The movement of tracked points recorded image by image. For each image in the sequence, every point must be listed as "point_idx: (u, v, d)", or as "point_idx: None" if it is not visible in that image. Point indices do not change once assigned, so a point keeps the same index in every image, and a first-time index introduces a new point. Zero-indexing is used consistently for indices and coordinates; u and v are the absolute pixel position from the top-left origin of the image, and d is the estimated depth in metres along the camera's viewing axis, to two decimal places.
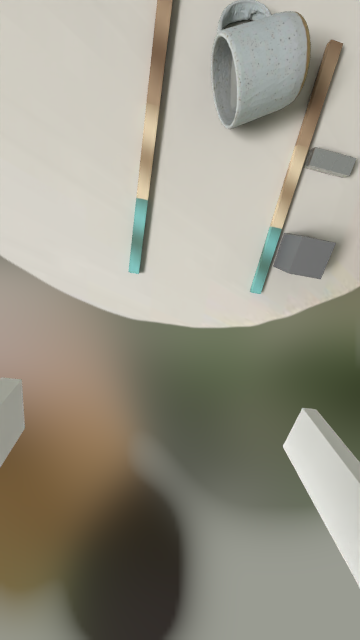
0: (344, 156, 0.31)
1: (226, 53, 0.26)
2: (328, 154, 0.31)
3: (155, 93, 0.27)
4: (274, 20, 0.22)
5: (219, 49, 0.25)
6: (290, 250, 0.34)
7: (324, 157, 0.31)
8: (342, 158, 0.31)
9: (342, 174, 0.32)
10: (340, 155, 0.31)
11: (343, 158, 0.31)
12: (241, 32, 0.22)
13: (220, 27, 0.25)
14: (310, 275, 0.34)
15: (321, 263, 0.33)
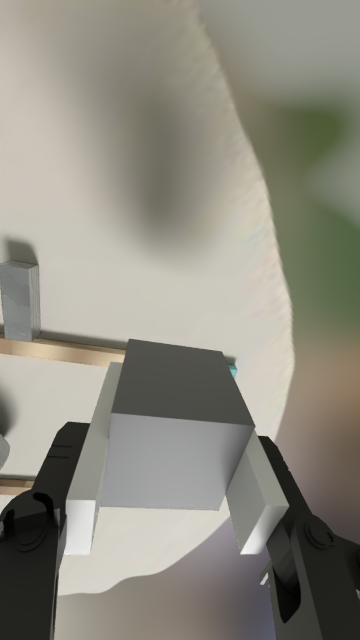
0: (2, 287, 0.17)
1: None
2: (7, 315, 0.18)
3: (13, 490, 0.28)
4: None
5: None
6: None
7: (14, 321, 0.19)
8: (6, 290, 0.18)
9: (30, 280, 0.18)
10: (3, 295, 0.18)
11: (5, 288, 0.18)
12: None
13: None
14: (234, 458, 0.09)
15: (192, 438, 0.08)
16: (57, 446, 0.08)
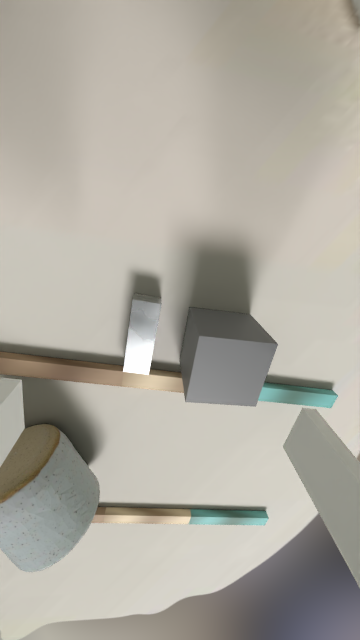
0: (131, 322, 0.17)
1: None
2: (130, 349, 0.18)
3: (94, 518, 0.27)
4: None
5: None
6: None
7: (135, 355, 0.18)
8: (134, 325, 0.17)
9: None
10: (130, 330, 0.17)
11: (134, 323, 0.17)
12: (8, 556, 0.18)
13: None
14: None
15: None
16: None
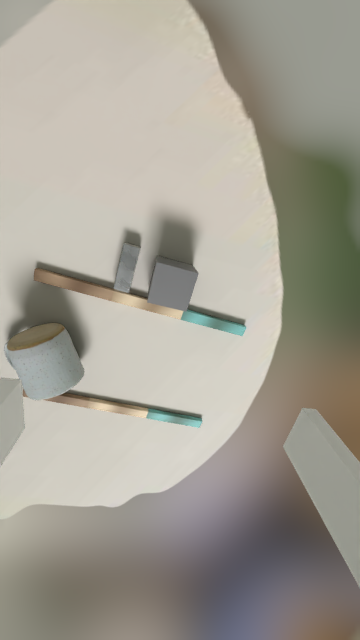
0: (121, 257, 0.30)
1: None
2: (119, 274, 0.31)
3: (81, 402, 0.39)
4: (15, 368, 0.29)
5: None
6: None
7: (122, 279, 0.31)
8: (123, 259, 0.30)
9: (138, 255, 0.30)
10: (120, 262, 0.30)
11: (123, 258, 0.30)
12: (26, 390, 0.30)
13: None
14: None
15: None
16: None
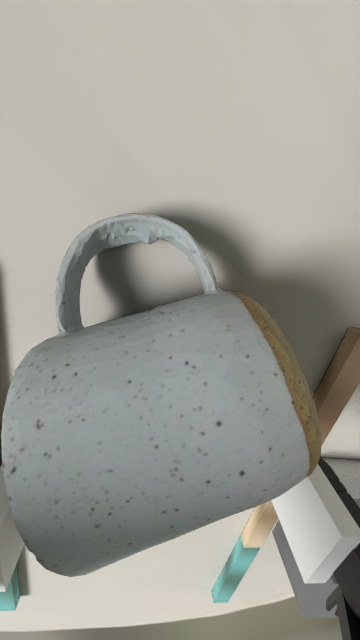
0: None
1: None
2: (346, 482, 0.16)
3: None
4: (187, 403, 0.06)
5: None
6: (295, 565, 0.18)
7: None
8: None
9: None
10: None
11: None
12: (54, 458, 0.06)
13: (58, 296, 0.08)
14: None
15: None
16: None
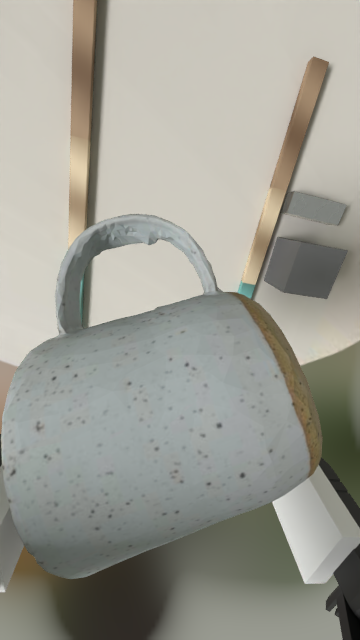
0: (331, 202, 0.25)
1: None
2: (311, 199, 0.24)
3: (81, 123, 0.21)
4: (187, 405, 0.06)
5: None
6: (279, 271, 0.26)
7: (305, 203, 0.24)
8: (328, 204, 0.25)
9: (329, 223, 0.26)
10: (326, 201, 0.24)
11: (330, 204, 0.25)
12: (54, 461, 0.06)
13: (58, 297, 0.08)
14: None
15: None
16: None
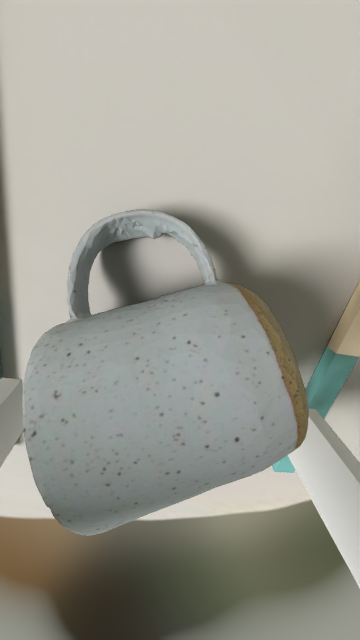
0: None
1: None
2: None
3: None
4: (189, 377, 0.06)
5: None
6: None
7: None
8: None
9: None
10: None
11: None
12: (70, 424, 0.06)
13: (70, 285, 0.09)
14: None
15: None
16: None
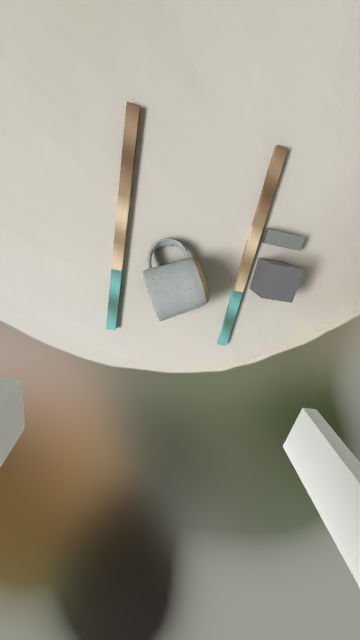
0: (294, 235, 0.35)
1: None
2: (280, 234, 0.35)
3: (125, 187, 0.32)
4: (180, 275, 0.31)
5: None
6: (259, 283, 0.36)
7: (276, 236, 0.35)
8: (292, 237, 0.35)
9: (294, 249, 0.36)
10: (291, 235, 0.35)
11: (293, 237, 0.35)
12: (156, 284, 0.31)
13: (148, 258, 0.34)
14: None
15: None
16: None
